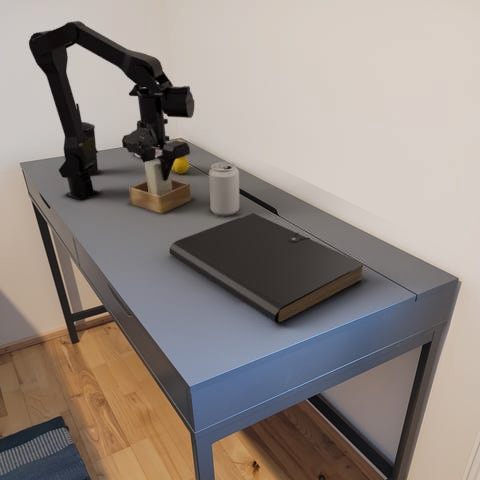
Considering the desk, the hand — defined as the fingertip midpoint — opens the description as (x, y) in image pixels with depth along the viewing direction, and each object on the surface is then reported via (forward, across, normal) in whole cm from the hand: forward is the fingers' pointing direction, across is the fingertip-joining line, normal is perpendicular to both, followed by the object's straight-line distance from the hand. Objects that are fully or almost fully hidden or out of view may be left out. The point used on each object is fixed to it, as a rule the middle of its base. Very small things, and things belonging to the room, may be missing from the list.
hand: (158, 178), depth 127 cm
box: (+7, 0, 0) cm, 7 cm away
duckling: (+7, -12, +21) cm, 25 cm away
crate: (+6, 0, 0) cm, 6 cm away
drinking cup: (+6, -35, +5) cm, 36 cm away
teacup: (+7, -33, +30) cm, 45 cm away
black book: (+7, +43, -14) cm, 46 cm away
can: (+7, +18, +5) cm, 20 cm away
